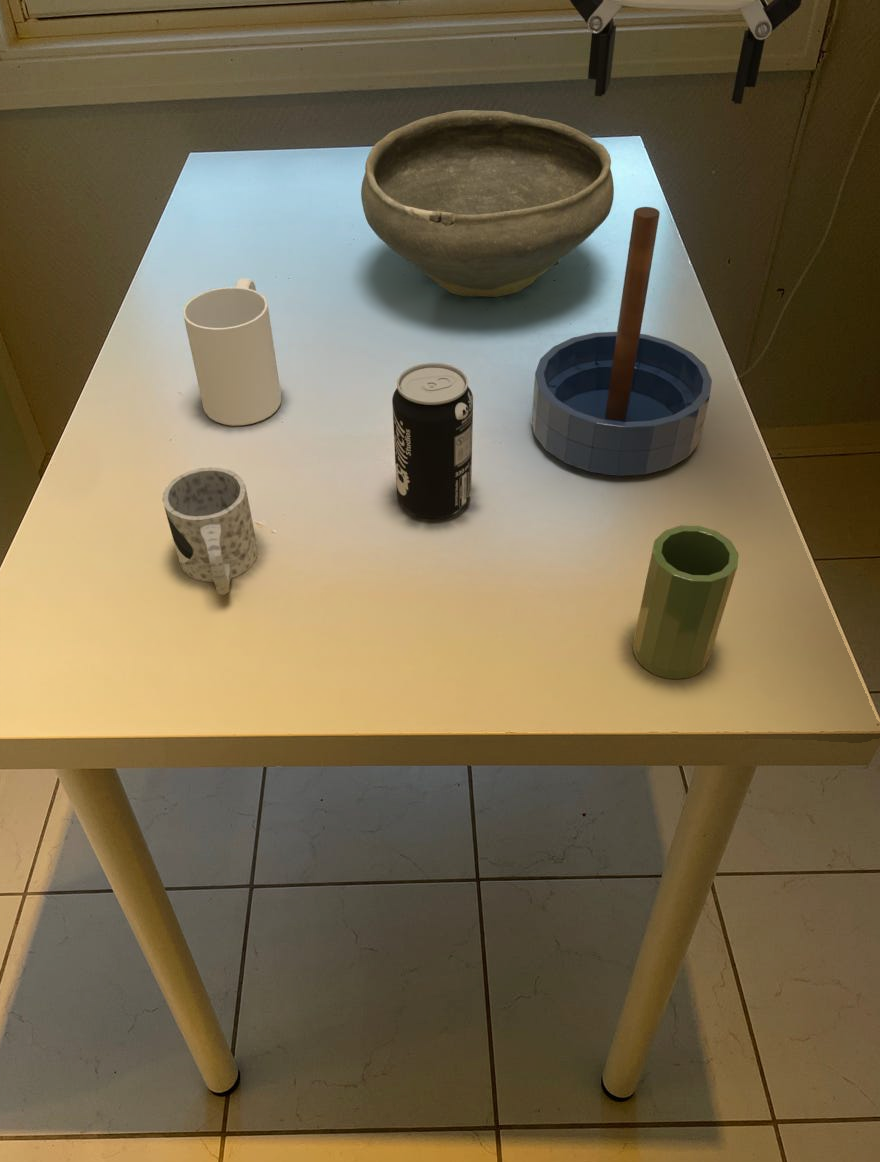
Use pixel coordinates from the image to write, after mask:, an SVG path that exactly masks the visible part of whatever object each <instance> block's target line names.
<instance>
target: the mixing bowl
mask: <svg viewBox="0 0 880 1162" xmlns="http://www.w3.org/2000/svg"><path fill="white" fill-rule="evenodd" d="M616 335H617V331H603V332H602V331H601V332H600V331H599V332H592V333H586V334H582V335H578V336H573V337H571V338H569V339H567V340H564V341H562V342H560V343H558V344H556V345H554V346H552V347H551V348H550V349H549V350H548V351H547V352H546V353H544V355H543V356H542V357H540V359H539V362H538V365H537V367H536V370H535V372H534V383H533V384H534V385H533V397H532V398H533V399H532V411H531V424H532V430H533V435H534V437H535V438H536V440H537V441H538V443H540V444H541V446H542V447H543V448H544V450H545V451H547V452H548V453H550V454H551V455H553V456H554V457H556V458H558V459H559V460H560V461H561V462H563V463H565V464H567V465H569V466H573V467H575V468H578V469H580V470H584V471H587V472H590V473H596V474H602V475H608V476H609V475H610V476H619V477H620V476H639V475H640V476H641V475H648V474H652V473H656V472H659V471H664V470H667V469H670V468H672V467H673V466H675V465H677V464H679V463H680V462H682V461H684V460H685V459H687V458H689V456H690V455H691V454H692V453H693V452H694V450H695V448H696V447H697V446H698V445H699V443H700V440H701V435H702V432H703V427H704V424H705V423H704V422H705V419H706V415H707V410H708V406H709V401H710V397H711V392H712V385H713V384H712V383H713V380H712V376H711V375H710V373H709V370H708V368H707V365H706V363H704V362H703V361H702V360H701V359H700V358H699V357H698V356H696V355H695V354H694V353H693V351H690V350H688V349H686V348H684V347H682V346H681V345H678V344H676V343H675V342H672V341H670V340H667V339H663V338H660V337H656V336H653V335H649V334H646V333H640V338H639V344H638V350H637V356H636V363H635V369H634V375H633V381H632V387H631V393H630V400H629V406H628V412H627V418H626V422H621V421H614V420H606V419H605V412H606V405H607V398H608V391H609V384H610V377H611V370H612V363H613V356H614V349H615V342H616Z"/></svg>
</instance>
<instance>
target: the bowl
mask: <svg viewBox="0 0 880 1162" xmlns="http://www.w3.org/2000/svg"><path fill="white" fill-rule="evenodd" d="M611 166H612V158H611V154H610V153H609V151H608V150H607V148H606V147H605V146H604V145H603V144H602V143H600V142H598V141H597V140H595V139H593V138H592V137H590V136H589V135H587V134H586V133H584V132H582V131H580V130H578V129H576V128H574V127H573V126H569V125H568V124H564V123H562V122H558V121H554V120H551V119H546V118H537V117H532V116H528V115H525V114H518V113H513V112H509V111H502V110H475V109H474V110H473V109H471V110H470V109H468V110H466V109H465V110H463V109H461V110H453V111H447V112H443V113H439V114H435V115H430V116H426V117H423V118H420V119H417V120H415V121H412V122H410V123H408V124H406V125H403V126H401V127H399V128H396V129H395V130H392V131H390V132H388V133H387V135H385V136H384V137H383V138H381V139H380V140H379V141H378V142H376V143H375V144H374V145H373V147H372V148H371V150H370V151H369V152H368V155H367V158H366V161H365V164H364V170H365V172H364V175H363V178H362V182H361V189H360V190H361V191H360V198H361V205H362V209H363V210H362V211H363V214H364V217H365V220H366V222H367V224H368V226H369V227H370V229H371V230H372V231H373V232H374V234H375V235H376V236H377V237H378V239H380V240H381V241H382V242H383V243H384V244H385V245H387V247H388V248H390V249H391V250H392V251H394V252H395V253H396V254H397V255H399V256H400V257H402V258H403V259H404V260H405V261H407V262H408V263H410V264H411V265H413V266H414V267H417V268H418V269H419V270H421V271H422V272H423V273H424V274H425V275H426V276H428V277H429V278H430V279H431V280H433V281H434V282H435V283H437V284H438V285H439V286H441V287H442V288H443V289H444V290H445V291H447V292H448V293H451V294H453V295H457V296H460V297H488V298H496V297H504V296H509V295H512V294H516V293H519V292H521V291H522V290H524V289H526V288H527V287H529V286H530V285H531V284H533V282H535V281H536V280H537V279H538V278H539V277H540V276H542V275H543V274H544V273H546V272H547V271H548V270H549V269H551V268H552V267H553V266H554V265H556V264H557V263H558V262H559V261H560V260H562V259H563V258H564V257H566V256H567V255H569V254H570V253H572V251H574V250H575V249H576V248H578V246H580V245H581V244H582V243H584V242H585V241H586V240H587V239H588V238H589V237H590V236H592V234H594V232H595V231H596V230H597V229H598V228H599V227H601V225H602V224H603V223H604V222H605V221H606V219H607V218H608V217H609V215H610V213H611V210H612V206H613V204H614V195H615V188H614V186H615V185H614V177H613V173H612V172H613V171H612V169H611Z"/></svg>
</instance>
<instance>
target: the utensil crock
mask: <svg viewBox="0 0 880 1162" xmlns="http://www.w3.org/2000/svg"><path fill="white" fill-rule="evenodd" d="M739 556H740V555H739V552H738V550H737V549H736V547H735V545H734V544H733V542H732V540H730V539H729V538H727V537H726V536H725V535H723V534H722V533H720V532H719V531H717V530H714V529H710V528H708V527H704V526H701V525H678V526H675V527H672V528H669V529H665V530H664V531H663V532H662V533H661V534H660V535H658V537H656V538H655V540H654V541H653V546H652V551H651V555H650V560H649V565H648V570H647V574H646V579H645V585H644V589H643V595H642V599H641V603H640V607H639V608H640V609H639V611H638V617H637V621H636V622H637V623H636V625H635V626H636V627H635V631H634V637H633V642H632V652H633V655H634V657H635V659H636V661H637V662H638V663H639V665H641V667H642V668H644V669H645V670H646V671H647V672H649V673H651V674H653V675H656V676H658V677H660V678H665V679H671V680H682V679H687V678H692V677H694V676H696V675H698V674H699V673H700V672H702V671H703V670H704V669H705V668H706V666H707V664H708V662H709V658H710V657H711V655H712V653H713V652H712V651H713V649H714V645H715V642H716V639H717V636H718V632H719V628H720V625H721V622H722V619H723V615H724V612H725V609H726V606H727V603H728V599H729V597H730V593H731V589H732V586H733V582H734V579H735V576H736V573H737V569H738V566H739Z"/></svg>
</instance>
